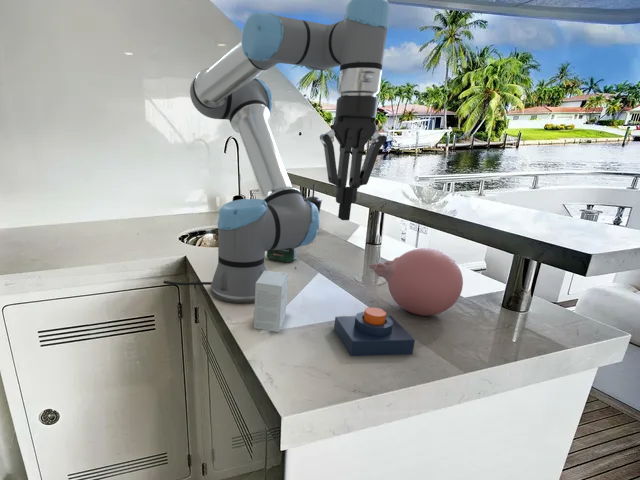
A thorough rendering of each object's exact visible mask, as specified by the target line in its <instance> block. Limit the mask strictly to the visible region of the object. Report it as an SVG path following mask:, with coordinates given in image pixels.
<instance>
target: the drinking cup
mask: <svg viewBox="0 0 640 480" xmlns="http://www.w3.org/2000/svg"><path fill="white" fill-rule="evenodd" d="M315 191H316V184H315V183H313V184H312V193H311V194H312V195H311V196H307V197H304V198H303V200H304V201H309V202H311V203H314V204H315V205H316V207H317V209H318V212H319V213H320V211H321V206H322V202H323V199H322V198H320V197H317V196H315Z"/></svg>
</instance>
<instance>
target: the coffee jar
mask: <svg viewBox="0 0 640 480" xmlns="http://www.w3.org/2000/svg"><path fill="white" fill-rule="evenodd" d="M266 258H268V259H269V260H272V261H277V262H283V263H290V262H294V261H296V259H297V258H298V247H297V248H286V249H278V250H269V251H266Z"/></svg>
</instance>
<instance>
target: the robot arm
mask: <svg viewBox="0 0 640 480" xmlns="http://www.w3.org/2000/svg"><path fill="white" fill-rule="evenodd" d="M343 16H344V19H342V20H340V21H338V22H335V23H331V24H325V23H320V22H315V21H308V20H304V19H303V20H302V19H298V18H292V17H287V16H281V15H277V14H274V13H271V12H270V13H267V12H266V13H263V12H254V13H252V14H250V15H249V16H248V17H247V18H246V20H245V24H244V25H243V27H242V31H241V38H240V39H241V40H240V41H239V42H238V43H237V44H236V45H235V46H234V47H233V48H231V50H229V51H228V52H227V53H226V54H225V55H223V56H222V57H221V58H220V59H219V60H218V61H217V62H216V63H215V64H213V65H212V66H211V67H208V68H203V69H201V71H199V72H198V73H197V74H196V75H195V76H194V77H193V79H192V80H191V83H190V87H189V88H190V89H189V95H190V100H191V102H192V105H193V106H194V108H195V109H196V110H197V111H198V113H200V114H201V115H202V116H204V117H207V118H209V119H213V120H227V121H229V123H230V127H231V128H232V130H233V131H234V132H236V133H238V134H239V136H240V139H241V142H242V145H243V147H244V150H245V153H246V156H247V159H248V162H249V165H250V167H251V170H252V173H253V176H254V179H255V182H256V185H257V187H258V190H259V193H260V196H261V198H241V199H236V200H231V201H227V202H226V203H224V204H223V205H221V207H220V208H219V211H218V220H217V266H216V267H215V268H216V269H215V272H214V274H213V278H212V280H211V281H191V282H190V281H189V282H184V281H183V282H179V281H172V280H171V281H170V280H163V282H162V283H163V284H168V285H175V286H210V293H211V295H212V296H213V297H214V298H216V299H217V300H220V301H222V302H226V303H231V304H241V305H242V304H253V303H254V304H255V283H256V282H257V280H258V279H259V277H260V276H261V274H262V273H263V271H264V270H265V271H267V269H266V266H265V255H266V252H267V251H269V250H278V249H286V248H297V249H298V248H300V247H304V246H309V245H310V244H311V243H313V242H314V240H316V237H317V235H318V233H319V228H320V224H321V223H320V222H321V220H320V219H321V217H320V212H318V209H317V207H316V205H315V204H314V203H311V202H309V201H304V200H303V199H304V197H303V194H302V192H301V190H300V189H299V188H296V187H293V185H292V182H291V180H290V178H289V175H288V172H287V169H286V166H285V164H284V161H283V159H282V156H281V154H280V151H279V148H278V146H277V143H276V140H275V138H274V134H273V132H272V129H271V128H270V124H269V122H268V121H269V119H270V116H271V113H272V109H273V101H272V100H273V94H272V91H271V88H270V86H269V85H268V84H267V83H268V82H266V81H264V80H263V79H261V78H258V77H259V76H261V75H263V74H265V72H267V71H269V69H272V68H273V67H275V66H276V65H279V64H286V65H294V66H303V67H305V68H306V69H307V70H309V71H313V72H314V71H325V70H328V69H332V68H336V67H339V77H338V85H337V94H338V95H340V96H338V98H337V99H336V106H335V115H334V116H335V118H334V122H333V124H332V125H331V129H330V130H329V131H327V132H325V133H322V134H320V135H319V141H320V142H321V144H322V145H323V151H324V159H325V165H326V172H327V180H328V181H327V182H328V183H329V184H332V185H334V186H335V187H336V194H335V203H337V204H339V205H338V213H337V214H338V215H337V218H338V219H340V220H341V221H350V218H351V211H352V210H351V209H352V204H356V201H357V197H358V189H360V187H361V186H366V185H368V183H369V180H370V178H371V175H372V171H373V169H374V166H375V164H376V161H377V158H378V155H379V153H380V149H381V148H382V146H383V145H384V144H385V142H386V141H387V136H386V135H382V134H381V133H380V132H378V131H377V124H376V117H377V111H378V104H379V98H378V96H376V95H378V94H379V93H380V87H381V80H382V73H383V64H384V56H385V51H386V50H385V49H386V43H387V36H388V29H389V27H390V26H389V20H390V19H389V18H390V3H389V1H388V0H350V1H349V2H348V3H347V4H346V7H345V12H344V15H343ZM335 139H336V141H337V143H338V144H339V157H338V158H339V159H338V166H337V162H336V154H335V146H334V142H335ZM369 141H370V145H369V146H368V150H367V152H366V155H365V158H364V161H363V154H364V152H365V146H366V144H367V143H368V142H369ZM350 156H351V157H350ZM350 158H351V161H350ZM362 162H363V164H362ZM349 166H350V170H349ZM337 167H338V168H337ZM348 174H349V177H348ZM348 178H349V179H348ZM347 182H348V186H347Z"/></svg>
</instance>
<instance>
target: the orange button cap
mask: <svg viewBox="0 0 640 480" xmlns="http://www.w3.org/2000/svg"><path fill="white" fill-rule="evenodd" d="M363 312H364V319H363V320H364V321H365V322H367V323H369V324H374V325H383V324H385V319H386V316H387V312H386V311H385V310H384V309H382V308H379V307H373V306H372V307H366V308H365V309H364V311H363Z"/></svg>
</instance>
